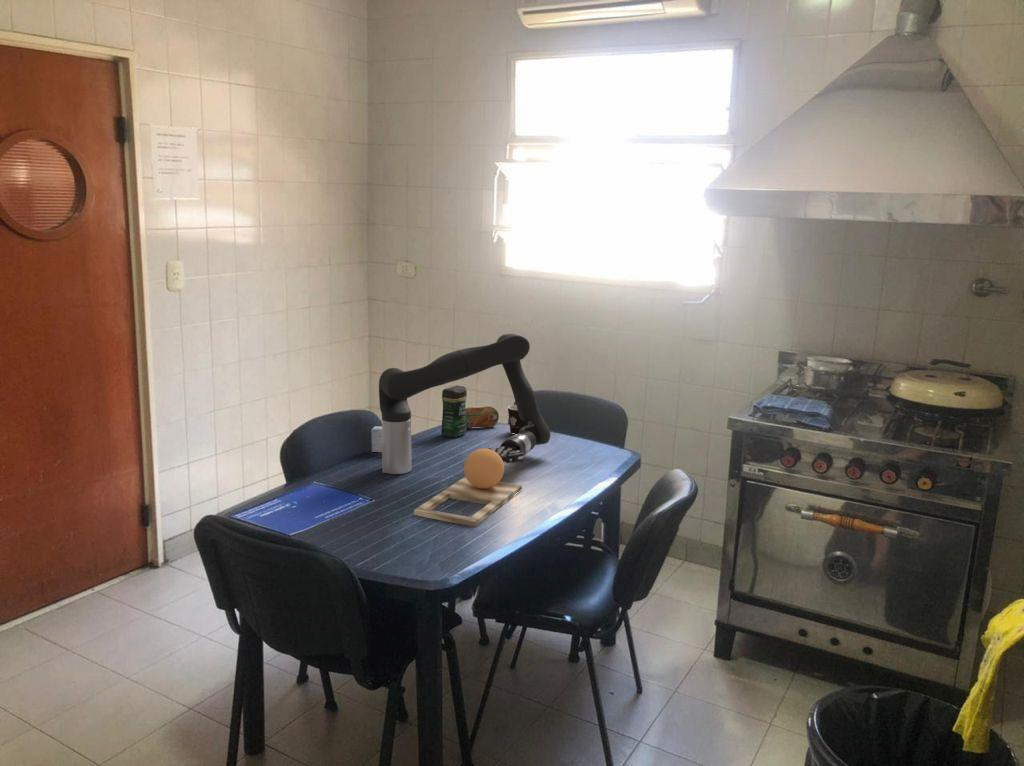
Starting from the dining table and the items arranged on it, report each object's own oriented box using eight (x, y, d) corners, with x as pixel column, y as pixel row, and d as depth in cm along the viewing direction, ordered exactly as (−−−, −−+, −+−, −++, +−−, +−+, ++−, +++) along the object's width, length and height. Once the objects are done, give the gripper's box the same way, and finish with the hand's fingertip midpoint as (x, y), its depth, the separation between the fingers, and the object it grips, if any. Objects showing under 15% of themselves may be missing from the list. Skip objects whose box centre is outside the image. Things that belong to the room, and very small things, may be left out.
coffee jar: (456, 439, 296) (456, 390, 292) (438, 436, 300) (438, 387, 296) (470, 433, 304) (470, 385, 300) (452, 430, 308) (452, 383, 304)
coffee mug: (503, 431, 308) (504, 405, 306) (524, 428, 312) (524, 403, 310) (516, 439, 298) (517, 413, 296) (537, 436, 301) (538, 411, 299)
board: (466, 480, 252) (466, 476, 252) (521, 489, 245) (522, 485, 245) (413, 515, 224) (413, 509, 223) (475, 526, 216) (475, 521, 216)
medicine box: (397, 450, 282) (396, 426, 280) (394, 454, 277) (393, 430, 276) (375, 449, 283) (374, 425, 281) (371, 453, 278) (371, 429, 276)
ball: (464, 494, 236) (465, 455, 233) (462, 481, 247) (463, 443, 245) (505, 494, 237) (506, 455, 234) (501, 480, 249) (502, 443, 246)
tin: (460, 429, 309) (461, 408, 308) (459, 427, 312) (459, 406, 311) (498, 427, 313) (499, 406, 312) (496, 425, 316) (497, 404, 315)
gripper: (497, 433, 264) (474, 447, 249) (534, 439, 259) (513, 453, 243) (497, 455, 266) (473, 470, 250) (534, 461, 261) (512, 477, 245)
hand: (493, 462), depth 247 cm, fingers closed
